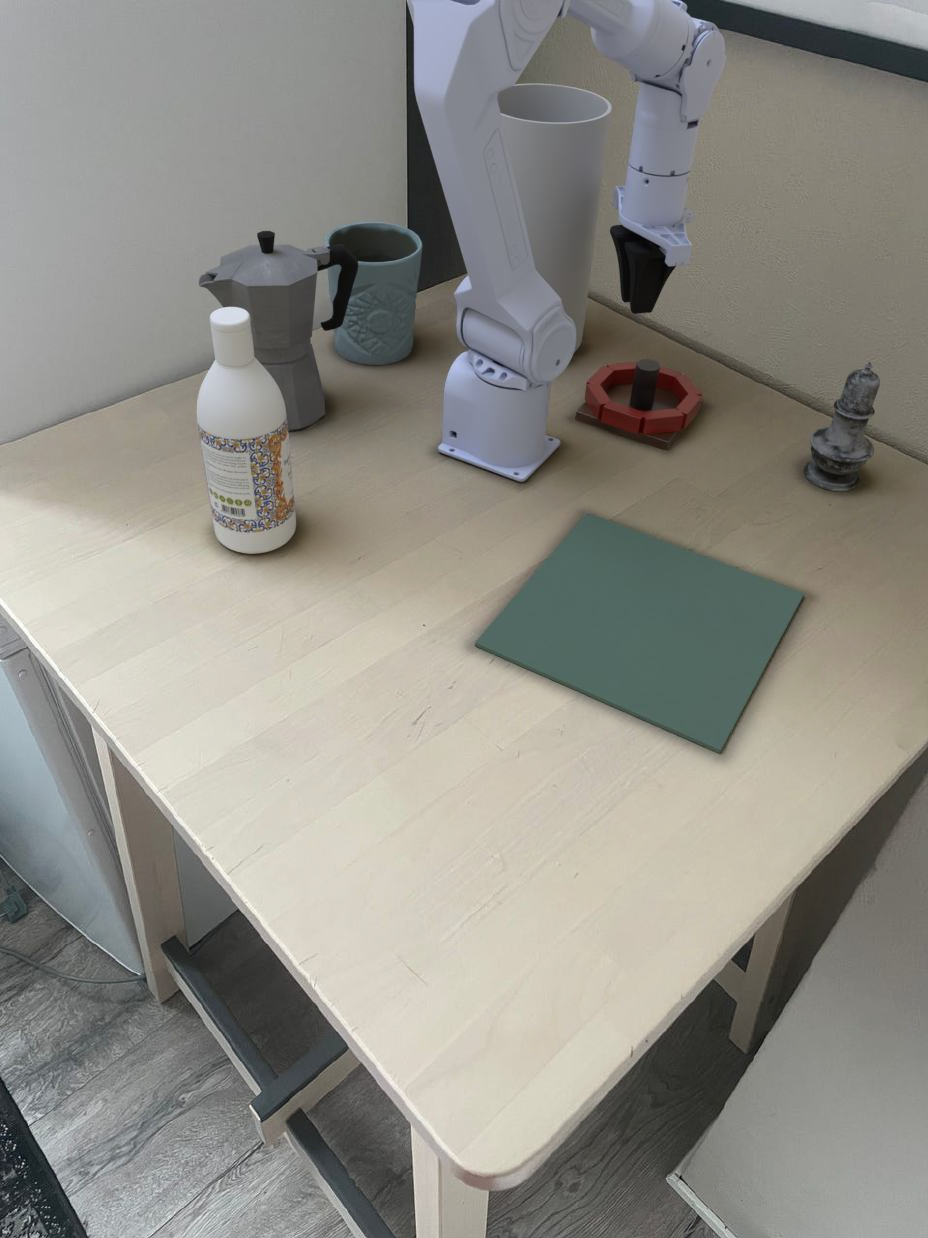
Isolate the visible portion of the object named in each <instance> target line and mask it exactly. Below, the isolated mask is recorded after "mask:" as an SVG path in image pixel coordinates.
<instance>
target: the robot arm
mask: <svg viewBox="0 0 928 1238" xmlns="http://www.w3.org/2000/svg"><path fill="white" fill-rule="evenodd" d="M406 3H407V7H408V10H409V14H410V18H411V21H412V25H413V84H414V85H413V88H414V94H415V100H416V103H417V106H418V107H417V108H418V110H419V113H420V116H421V120H422V124H423V128H424V130H425V131H424V132H425V134H426V137H427V140H428V141H427V142H428V144H429V147H430V151H431V154H432V158H433V160H434V164H435V167H436V171H437V174H438V177H439V182H440V184H441V188H442V192H443V195H444V198H445V201H446V204H447V208H448V211H449V215H450V218H451V221H452V225H453V228H454V233H455V236H456V238H457V242H458V245H459V248H460V252H461V255H462V258H463V259H462V260H463V263H464V265H465V269H466V272H467V275H466V276H465V278H464V279H462V280H461V282H460V284H459V285H458V287H457V288H456V290H455V291H454V293H453V296H454V299H455V303H456V310H457V312H456V321H455V322H456V323H455V330H456V336H457V338H458V341H459V343H461V345H462V347H465V348H466V349H467V350H466V351H464V352H462V353H460V354H459V355H458V356H457V357H456V359H454V361H453V362H452V364H451V366H450V368H449V370H448V373H447V376H446V379H445V383H444V388H443V402H442V403H443V405H442V435H441V436H442V438H441V439H442V440H441V443H440V444H439V445H438V446H437V451H438V452H439V453H441V454H444V455H446V456H449V457H451V458H454V459H457V460H459V461H463V462H464V463H468V464H471V465H473V466H475V467H479V468H481V469H485V470H487V471H490V472H492V473H495V474H498V475H501V476H503V477H506V478H508V479H511V480H514V481H516V482H519V483H523V482H525V481H527V480H528V479H529V478H530V477H531V476H532V475H533V473H535V472H536V470H538V469H539V468H540V467H541V466H542V464H543V463H544V462H545V461H546V460H547V459H548V458H549V457H550V456H551V455H552V454H554V452H555V451H556V450H557V449H558V448H559V447H560V446H561V440H560V439H559V438H556V437H554V436H550V435H548V434H547V433H546V432H547V423H548V415H549V414H548V413H549V406H550V397H551V388H552V381H554V380H556V378H558V377H559V376H561V374H562V373H563V372H564V371H565V370H566V369H567V368H568V366H569V364H570V363H571V360H572V358H573V357H574V354H575V352H574V350H575V346H576V327H575V324H574V321H573V320H572V319H571V318H570V317H569V316H568V315H567V314H566V313H565V311H564V309H563V305H562V300H561V298H560V297H559V296H558V294H557V293H556V292H555V291H554V290H553V289H552V288H551V286H550V285H549V284H548V283H547V282H546V281H545V280H544V279H543V278H542V277H541V276H540V274H539V273H538V272H537V271H536V269H535V265H534V260H533V256H532V251H531V247H530V242H529V238H528V233H527V229H526V225H525V220H524V216H523V211H522V207H521V202H520V198H519V193H518V189H517V184H516V180H515V176H514V171H513V167H512V162H511V158H510V153H509V149H508V144H507V140H506V136H505V131H504V127H503V122H502V118H501V113H500V109H499V104H498V100H497V97H498V93H499V92H500V91H503V90H505V89H507V88H509V87H512V86H514V85H515V84H516V83H517V82H518V80H519V79H520V77H521V75H522V74H523V72H524V70H525V69H526V68H527V66H528V64H529V63H530V61H531V60H532V58H533V57H534V55H535V53H536V52H537V50H538V49H539V47H540V46H541V44H542V42H543V41H544V39H545V38H546V36H547V35H548V33H549V32H550V30H551V28H552V26H553V25H554V23H555V21H556V19H559V20H561V19H564V18H565V17H566V16H569V17H570V18H573V19H574V20H577V21H579V22H580V23H582V24H584V25H586V26H588V27H590V35H591V40H592V42H593V45H594V47H595V49H596V50H597V51H598V52H599V54H601V55H602V56H604V57H605V58H607V59H609V60H611V61H612V62H614V63H616V64H617V65H619V66H620V67H623V68H625V69H626V70H628V72H629V77H630V78H631V81H632V82H633V83H637V82H638V83H639V86H638V93H637V99H636V108H635V113H634V114H635V115H634V119H633V120H634V122H633V127H632V128H633V129H632V136H631V143H630V148H629V149H630V150H629V154H628V155H629V156H628V163H627V169H626V170H627V171H626V176H625V184H624V185H615V186H614V191H613V198H612V207H613V208H614V209H615V210H617V219H618V222H619V224H616V225H615V224H614V225H612V226H611V227H610V228H609V233H610V236H611V239H612V242H613V246H614V249H615V252H616V258H617V264H618V271H619V273H618V274H619V286H620V288H619V289H620V296H621V300H622V302H623V303H629V309H630V312H631V314H634V315H637V314H649V313H652V312H653V310H654V309H655V306H656V304H657V302H658V300H659V297H660V295H661V293H662V291H663V288H664V287H665V284H666V283H667V281H668V279H669V277H670V276H671V275H672V273H673V272H674V270H675V269H676V267H681V266H689V265H690V260H691V255H692V249H693V243H692V242H691V241H690V240H689V238H688V232H687V225H686V224H690V223H692V222H693V221H694V216H695V215H694V213H693V212H692V211H691V210H690V209H689V208H687V207H685V205H686V200H687V194H688V188H689V182H690V178H691V177H690V176H691V172H692V168H693V163H694V156H695V151H696V146H697V140H698V135H699V129H700V124H701V118H703V117H705V116H706V115H707V112H708V109H710V105H711V99H712V95H713V92H714V90H715V88H716V86H717V84H718V82H719V80H720V78H721V76H722V74H723V72H724V68H725V66H726V62H727V58H728V56H727V55H726V41H725V38H724V36H723V34H722V33H721V32H720V29H719V28H718V26H717V25H716V24H715V23H714V22H711V21H707V20H704V19H699V18H695V17H692V16H691V15H690V14H689V13H688V12H687V9H688V5H687V4H686V3H685V2H684V1H682V0H406Z"/></svg>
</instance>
